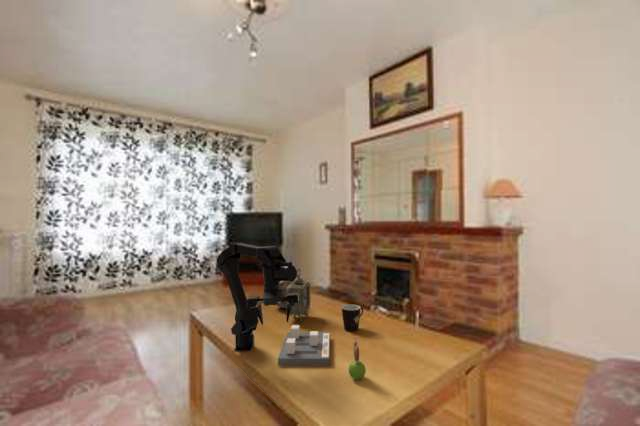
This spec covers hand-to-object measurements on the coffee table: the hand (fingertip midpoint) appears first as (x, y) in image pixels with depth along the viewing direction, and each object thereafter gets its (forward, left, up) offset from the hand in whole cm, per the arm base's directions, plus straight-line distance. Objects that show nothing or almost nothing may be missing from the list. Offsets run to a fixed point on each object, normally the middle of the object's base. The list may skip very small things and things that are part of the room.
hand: (274, 323), depth 120 cm
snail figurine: (+29, -13, -13) cm, 34 cm away
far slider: (+6, +14, -10) cm, 18 cm away
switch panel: (+11, +7, -13) cm, 18 cm away
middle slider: (+14, +7, -10) cm, 18 cm away
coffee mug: (+31, +30, -13) cm, 45 cm away
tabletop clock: (+4, +44, -13) cm, 46 cm away
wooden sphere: (-5, +63, -13) cm, 64 cm away
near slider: (+6, 0, -10) cm, 12 cm away
